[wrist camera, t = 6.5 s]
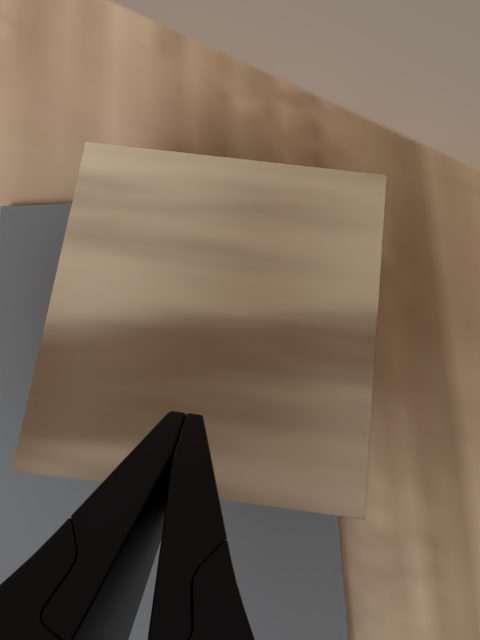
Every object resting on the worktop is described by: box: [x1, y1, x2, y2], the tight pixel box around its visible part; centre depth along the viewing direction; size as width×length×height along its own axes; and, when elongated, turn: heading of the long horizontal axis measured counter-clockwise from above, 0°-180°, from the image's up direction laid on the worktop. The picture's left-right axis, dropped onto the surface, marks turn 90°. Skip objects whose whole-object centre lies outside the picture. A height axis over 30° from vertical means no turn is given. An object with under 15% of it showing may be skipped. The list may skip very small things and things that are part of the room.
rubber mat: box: [0, 203, 349, 640], centre depth 17 cm, size 22×14×1 cm, turn 3°
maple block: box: [12, 142, 387, 519], centre depth 15 cm, size 5×10×10 cm
